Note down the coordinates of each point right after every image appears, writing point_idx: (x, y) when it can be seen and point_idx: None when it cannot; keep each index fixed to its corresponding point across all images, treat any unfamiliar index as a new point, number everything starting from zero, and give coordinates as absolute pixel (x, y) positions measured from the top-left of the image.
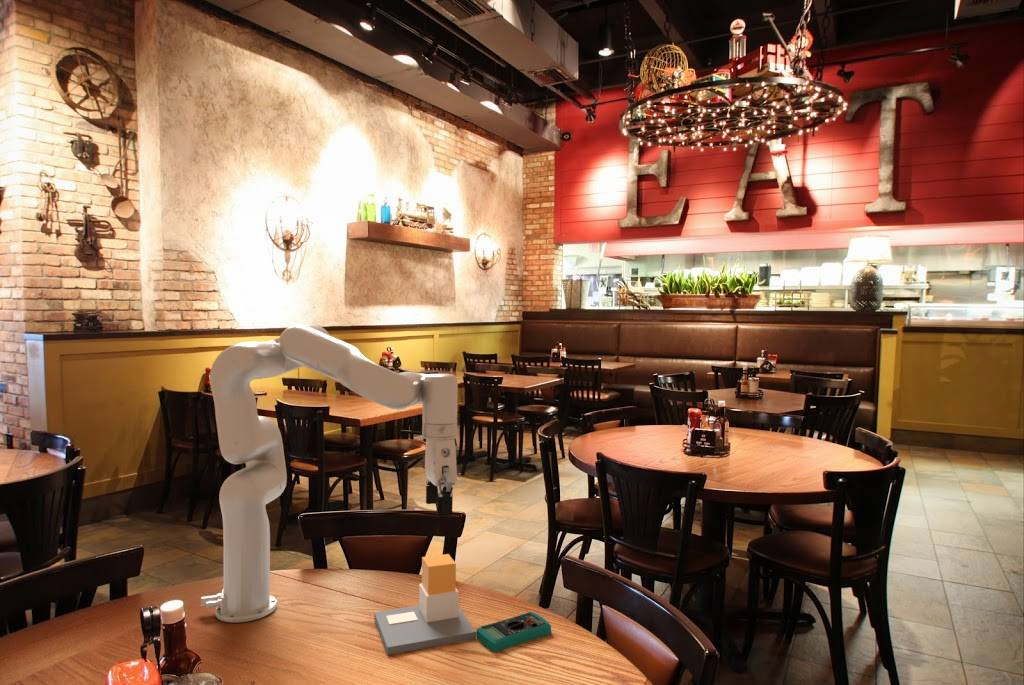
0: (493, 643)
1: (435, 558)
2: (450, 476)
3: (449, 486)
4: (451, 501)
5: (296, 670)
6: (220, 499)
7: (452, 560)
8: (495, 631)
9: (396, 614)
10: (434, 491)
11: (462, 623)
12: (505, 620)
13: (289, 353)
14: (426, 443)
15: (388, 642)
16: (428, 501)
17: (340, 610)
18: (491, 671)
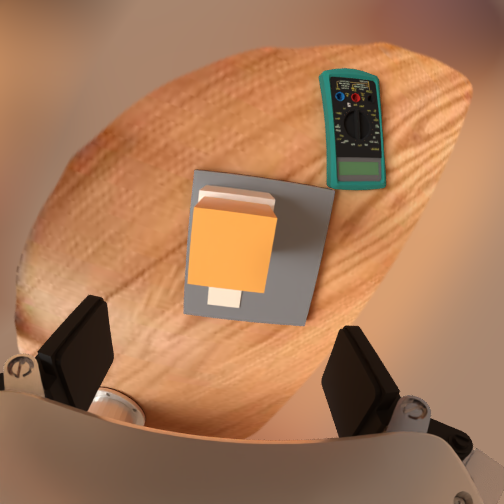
0: (383, 187)
1: (212, 255)
2: (495, 501)
3: (474, 462)
4: (384, 373)
5: (276, 399)
6: None
7: (251, 217)
8: (353, 162)
9: (210, 288)
10: (83, 369)
11: (295, 197)
12: (334, 129)
13: None
14: None
15: (292, 321)
16: (108, 360)
17: (139, 337)
18: (410, 214)
